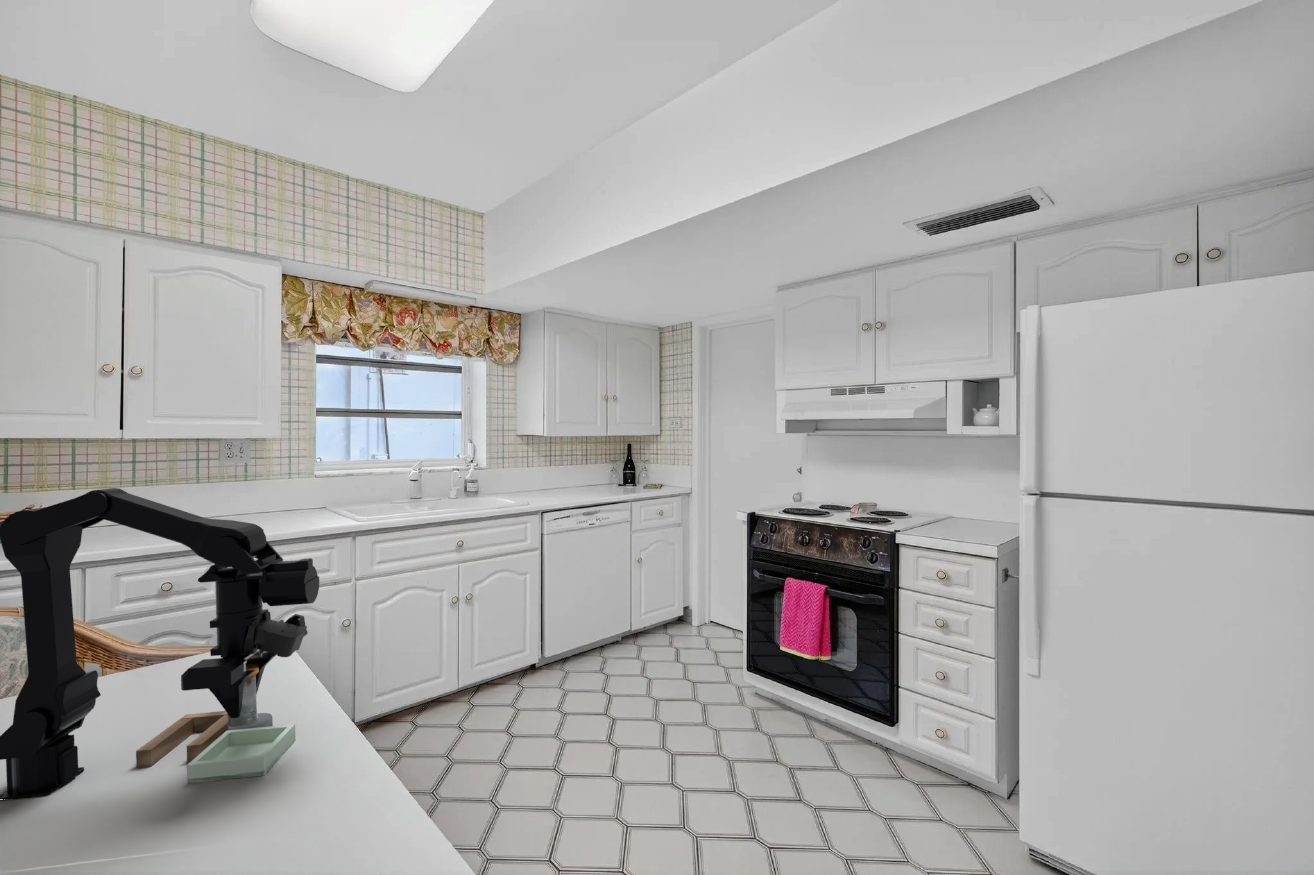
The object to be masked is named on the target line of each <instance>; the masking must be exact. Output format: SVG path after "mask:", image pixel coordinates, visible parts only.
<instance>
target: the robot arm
mask: <svg viewBox="0 0 1314 875" xmlns="http://www.w3.org/2000/svg"><path fill="white" fill-rule="evenodd" d="M103 521H109V522H111V523H114V524H118V525H121V526H124V527H127V528H131V529H135V530H137V531H140V532H143V533H147V534H149V535H153V536H156V537H160V538H163V539H166V540H169V541H172V542H176V543H179V544H180V545H183V546H185V547H188V548H189V549H190V550H191V551H192V552H193V553H194V554H195V555H196V556H198V557H200V558H202V559H203V560H206V561H207V562H210V563H211V565H210V566H209V568H208V569H207V570H206V572H205V573H203V574H202V575H201V576H200V577H198V578H197V582H198V583H215V587H214V588H215V616H216V617H215V618H213V619H211V620H209V629H216V645H215V646H214V647H212V648H210V650H209V652H210V657H215V656H216V658H205V659H202V660H200V661H198V662H196V663H195V664H193V665H191V666H190V667H189V668H187V669H186V670H185V671H184V672H183V673H182V674H181V675H180V683H181V684H180V685H181V687H180V690H182V691H194V690H207V689H208V690H209V692H210V693H212V695H213V696H214V697H215V698H216V700H217V701H218V703H219V704H220V705H221V707H222V708H223V709H224V711H226V712H227V713H228V715H229V716H230V718H238V717H239V716H240V713H241V707H242V698H243V688H244V682H245V681H246V679H247V678H248V677H249V676H250V675H251V674H252V673H253V672H254V670H253V671H246V664H257V665H258V666H259V672H258V673H257V674H256V696H257V695H258V694H257V693H258V691H259V687H260V684H261V680H262V678H263V673H264V671H265V669H266V666H267V665H268V664H269V663H270V662H271V661H272V660H273V659H274V658H275V657H276V656H277V657H280V658H289V657H291V656H292V655H293V653H295V652H297V651H298V650H300V647H301V644H302V642H303V639H304V637H306V636H307V635H308V632H309V631H308V630H307V628H308V626H307V625H306V620H305V616H304V615H301V614H297V613H294V614H293V615H291V616H290V617H289V618H288V619H286V621H284V619H280V620H274V619H272V618H271V612H270V611H269V609H268V608H267V609H263V604H267V605H268V606H269V607H279V606H295V605H307V604H308V605H310V604H313V603H314V602H315V601H316V600H317V597H318V595H319V591H320V576H319V575H318V572H317V569H316V567H315V566H314V564H313V562H314V560H313V558H312V557H311V558H302V559H298V560H284V558H283V557H282V556H281V555H280V554H279V553H278V552H277V551H276V549H275V548H274V547H273V546H272V545H271V544H270V542H268V541H267V535H266V534H265V532H264V529H263V528H262V527H261V526H259V525H258V524H256V523H252V522H246V521H241V520H239V521H238V520H232V519H222V518H221V519H220V518H219V519H217V518H208V517H203V516H200V515H197V514H194V513H190V512H187V511H185V510H181V509H178V508H175V507H172V506H169V505H166V504H163V503H160V502H156V501H154V500H151V499H148V498H144V497H140V496H138V495H135V494H131V493H129V492H127V491H126V490H123V489H121V488H117V487H110V488H109V487H108V488H102V489H101V488H100V489H93V490H90V491H88V492H86V493H84V494H81V495H79V496H77V497H74V498H71V499H69V500H64V501H62V502H58V503H55V504H51V505H50V506H46V507H37V508H31V509H30V508H29V509H23V510H18V511H15V512H13V513H10V514H9V515H8V516H7V517H6V518H5V519H4V520H2V521H1V522H0V544H1V548H2V550H3V555H4V557H5V558H6V559H7V561H9V563H10V564H11V565H12V566H13V567H14V568H15V569H16V571H18V573H19V575H20V581H21V584H20V585H21V594H22V595H21V596H22V607H23V608H22V609H23V610H22V611H23V622H24V634H25V636H24V637H25V647H26V648H25V649H26V661H27V662H26V663H27V677H26V678H25V681H24V683H23V685H22V686H21V689H20V691H19V693H18V694H17V697H16V699H15V703H14V709H13V710H14V711H13V715H12V716H13V718H12V724H11V725H10V726H9V727H8V728H7V729H6V730H5V731H4V732H3V733H1V735H0V760H5V768H6V769H5V770H6V775H5V776H6V790H5V791H3V792H2V793H0V799H3V800H2V801H5V800H4V799H12V800H20V799H21V800H22V799H28V798H29V799H30V798H39V797H47V796H50V795H51V794H54V792H56V791H57V790H58V789H60V788H62V787H64V785H66V784H68V783H69V782H71V781H72V780H73V779H75V778H76V777H78V776H79V775H81V774H82V773H84V772H85V767H84V766H81V767H79V751H78V750H79V749H78V746H77V745H75V734H70V733H72V732H73V731H75V730H78V729H80V728H81V727H82V726H83V724H84V722H85V719H86V717H87V716H88V715H89V713H91V711H92V710H93V709H94V708H95V706H96V702H97V699H98V698H99V697H101V696H102V695H101V692H100V691H99V687H98V678H99V674H98V670H91V671H88V672H87V671H85V670H84V669H83V668H82V667H81V666H80V664H79V663H78V660H77V650H76V636H75V635H76V634H75V624H74V623H75V621H74V610H73V608H74V607H73V596H72V595H73V594H72V581H71V564H72V562H73V561H74V558H75V556H76V555H77V552H78V550H79V549H80V546H81V543H82V535H83V530H84V529H87V528H90V527H92V526H94V525H96V524H99V523H101V522H103ZM254 558H255V559H254ZM217 656H218V657H219V656H220V657H219V658H217Z"/></svg>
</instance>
